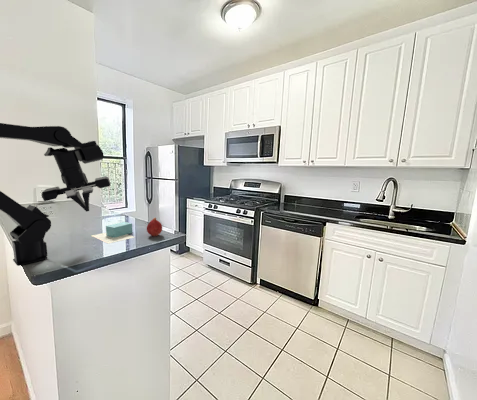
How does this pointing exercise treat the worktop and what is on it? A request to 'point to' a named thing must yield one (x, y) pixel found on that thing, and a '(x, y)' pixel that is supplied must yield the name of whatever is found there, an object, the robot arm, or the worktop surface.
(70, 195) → the robot arm
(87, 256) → the worktop surface
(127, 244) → the worktop surface
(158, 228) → the onion
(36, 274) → the worktop surface
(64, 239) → the worktop surface
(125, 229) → the block
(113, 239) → the mat
